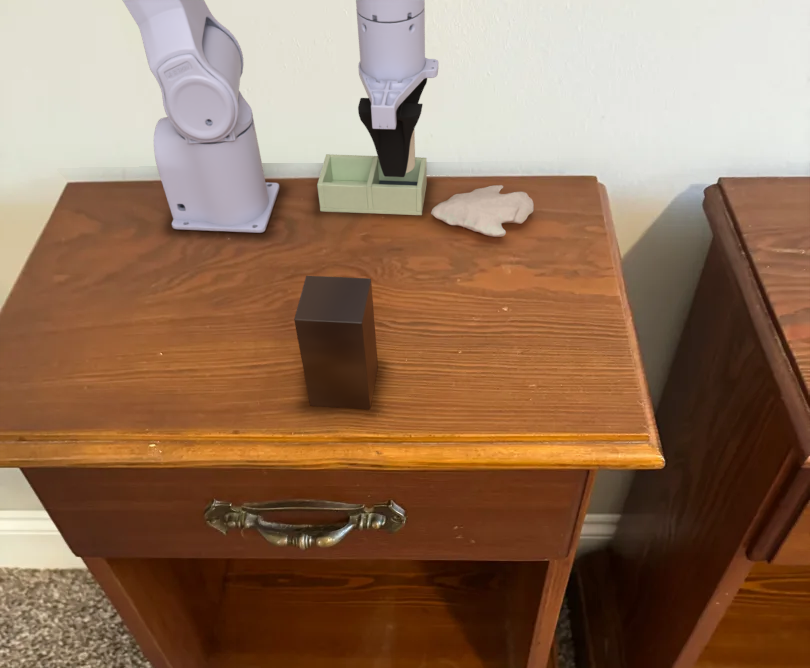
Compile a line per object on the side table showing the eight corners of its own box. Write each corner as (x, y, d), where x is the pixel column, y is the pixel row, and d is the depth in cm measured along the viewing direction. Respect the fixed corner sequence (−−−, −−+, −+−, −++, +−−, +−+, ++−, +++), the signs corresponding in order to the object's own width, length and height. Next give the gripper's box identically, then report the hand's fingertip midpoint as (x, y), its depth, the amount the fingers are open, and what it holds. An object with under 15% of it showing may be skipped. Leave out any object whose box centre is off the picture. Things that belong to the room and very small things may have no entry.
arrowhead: (530, 199, 79) (432, 192, 79) (534, 175, 77) (434, 168, 77) (531, 249, 75) (428, 241, 75) (536, 225, 72) (429, 218, 73)
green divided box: (320, 211, 78) (316, 184, 76) (329, 180, 81) (325, 154, 79) (421, 215, 77) (421, 188, 75) (426, 184, 80) (426, 157, 78)
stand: (310, 406, 63) (293, 319, 56) (320, 363, 66) (306, 275, 59) (370, 409, 63) (362, 322, 55) (378, 366, 66) (371, 278, 58)
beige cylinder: (378, 174, 75) (376, 138, 72) (382, 155, 77) (380, 118, 74) (413, 175, 75) (412, 139, 72) (416, 156, 77) (416, 119, 74)
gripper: (430, 50, 60) (430, 208, 72) (445, -30, 68) (443, 124, 80) (341, 48, 61) (355, 206, 72) (366, -30, 69) (375, 123, 80)
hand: (396, 163), depth 76 cm, fingers closed on beige cylinder, 3 cm apart
